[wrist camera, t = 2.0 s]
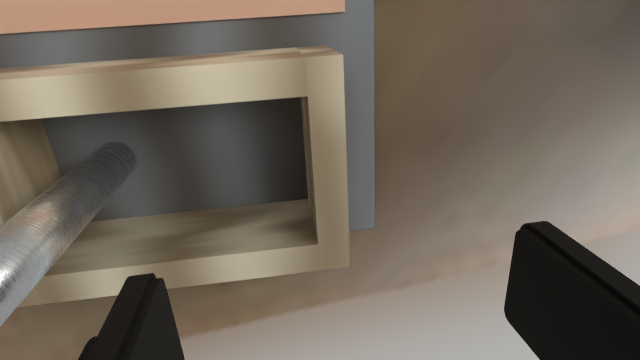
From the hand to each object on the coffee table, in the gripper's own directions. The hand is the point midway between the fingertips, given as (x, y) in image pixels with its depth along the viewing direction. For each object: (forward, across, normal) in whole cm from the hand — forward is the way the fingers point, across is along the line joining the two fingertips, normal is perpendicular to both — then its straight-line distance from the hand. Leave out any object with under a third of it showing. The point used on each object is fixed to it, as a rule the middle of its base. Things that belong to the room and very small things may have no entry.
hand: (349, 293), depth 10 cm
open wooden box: (+13, +6, 0) cm, 14 cm away
